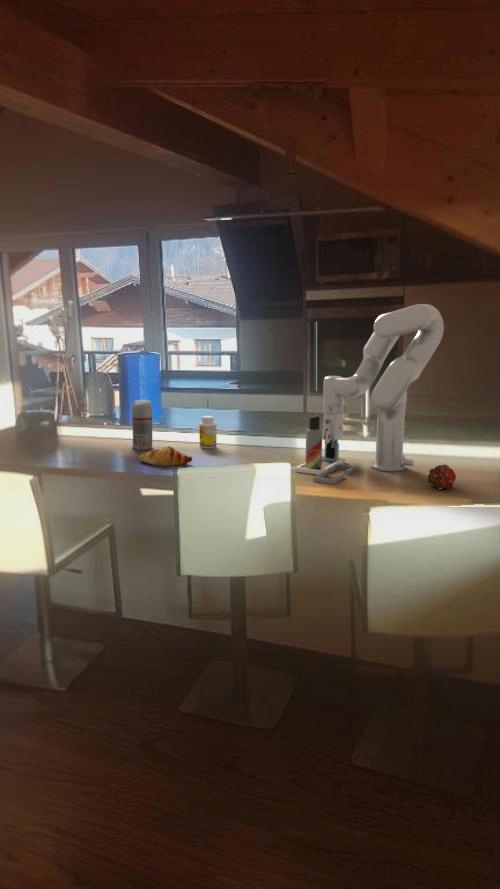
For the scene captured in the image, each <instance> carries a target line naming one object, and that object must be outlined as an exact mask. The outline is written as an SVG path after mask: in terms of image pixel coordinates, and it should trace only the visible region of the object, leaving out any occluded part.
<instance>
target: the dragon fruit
mask: <svg viewBox="0 0 500 889" xmlns="http://www.w3.org/2000/svg"><path fill="white" fill-rule="evenodd" d="M427 477H428V478H427V482H428V483H429V484H431V485H432V486H433V487H434V486H435V487H434V488H436V487H437V488H444V489H445V488H446V489H450V488H451V489H453V486H454V482H455V481H456V479H457V475H456V473H455V471H454V470H453V469H452V468H451V467H450V466H449V465H447V464H444V463H442V465H441V464H439V465H437V466H435V467H434V468H431V469H429V473H428V475H427ZM437 488H436V489H437Z"/></svg>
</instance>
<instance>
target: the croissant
mask: <svg viewBox="0 0 500 889" xmlns="http://www.w3.org/2000/svg"><path fill="white" fill-rule="evenodd" d="M138 459H139V460H140V461H142V462H143V463H146V464H149V465H153V466H158V467H159V466H161V467H162V466H163V467H169V466H170V467H171V466H183V465H187V464H188V463H191V462H192V461H193V456H188V455H187V454H185V453H181V452H180V451H179V450H175V449H174V447H172V446H169V445H168V446H164V447H162V448H160V449H152V450H150V451H147V452H143V454H139V456H138Z"/></svg>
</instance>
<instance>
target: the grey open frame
mask: <svg viewBox="0 0 500 889" xmlns="http://www.w3.org/2000/svg"><path fill="white" fill-rule="evenodd" d="M339 469H340V470H341V469H342V470H345V472H341V473H339V474H338V475H336V476H335V477H333V478H328V477H326V476H328V473H330V474H331V473H334V472H335V471H337V470H339ZM356 470H357V466H356V465H354V464H353V465H351V464H344V463H343V464H336V465H334V466H332V467H331V468H329V472H327V471H324V472H322V473H320V474H319V475H317V474H316V475H315V476H313V482H314V483H322V484H327V485H328V484H329V485H335V484H337V482H340V481H341V480H342V479H344V478H345V475H346V476H348V475H350V474H351V473H353V472H355V471H356Z"/></svg>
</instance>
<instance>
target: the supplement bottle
mask: <svg viewBox="0 0 500 889" xmlns="http://www.w3.org/2000/svg"><path fill="white" fill-rule="evenodd" d="M199 447H200V448H201V449H206V450H207V449H208V450H209V449H214V448H216V447H217V423H216V421H215V417H214V415H202V416H201V422H199Z"/></svg>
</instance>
